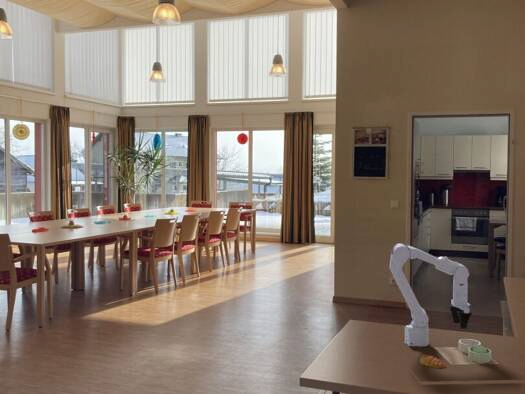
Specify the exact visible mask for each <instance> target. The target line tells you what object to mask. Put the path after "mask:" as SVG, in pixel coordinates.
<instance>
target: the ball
mask: <svg viewBox="0 0 525 394" xmlns="http://www.w3.org/2000/svg"><path fill="white" fill-rule="evenodd" d="M485 348H486V347H485V346H483V345H482V344H481V345H477V346H475V347H474V348H473V352H475V353H487V351H486V349H485Z"/></svg>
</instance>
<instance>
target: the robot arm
mask: <svg viewBox="0 0 525 394" xmlns="http://www.w3.org/2000/svg"><path fill="white" fill-rule="evenodd" d="M409 259H410V260H414V259H418V260H421V261H424V262H426V263H428V264H431V265H434V268H435V269H436V270H437V271H440V272H442V273H444V274H447V275H449V276H453V277H452V279H453V282H452V299H451V302H450V303H451V305H448V308H449V311H450V313H451V316H452V321H453V324H459V326H460V329H462V330H463V329H464V330H465V329H467V327H468V323H469V320H470V318H471V316H472V314H473V312H471V311H470V306H471V304H470V303H469V302H468V294H469V293H468V291H469V290H468V287H469V285H468V284H469V283H468V278H469V277H470V273H469V272H470V271H469V269H468V267H466V266H465V265H463V264H462V263H459V262H458V261H453V260H451V259H449V257H448V256H439V257H436V256H434V255H432V254H431V253H428V252H426V251H424V250H421V249H419V248H416V247H414V246H411V245H406V244H405V243H399V242H398V243H397V244H395V245H394V246H393V248H392V250H391V252H390V259H389V271H390V272H391V274H392V277H393V278H394V281H395V282H396V285H397V287H398V288H399V290H400V292H401V294H402V296H403V299H404V300H405V302H406V304H407V306H408V309H409V311H410V315H411V319H412V321H411V322H410V324H408V325H405V326H404V342H403V343H404V344H406V345H407V346H408V347H427V346H429V320H430V319H429V316H428V315H427V312H426V310H425V309H424V308H423V307H422V306H421V305H420V303H419V301H418V299H417V297H416V295H415V292H414V291H413V289H412V287H411V285H410V283H409V281H408V280H407V277H406V276H405V273H404V272H403V267H404V265H405V263H406V262H407V260H409Z"/></svg>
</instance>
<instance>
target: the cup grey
mask: <svg viewBox="0 0 525 394" xmlns="http://www.w3.org/2000/svg"><path fill="white" fill-rule="evenodd" d="M477 345H481V346H482V343H481V342H480V341H479V340H478V339H477V340H476V339H472V338H461V339H459V340H458V347H459V351H460V352H463V353H467V354H468V348H469V347H475V346H477Z"/></svg>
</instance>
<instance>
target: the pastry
mask: <svg viewBox="0 0 525 394" xmlns="http://www.w3.org/2000/svg"><path fill="white" fill-rule="evenodd" d="M419 364H421V365H422V366H423V365H424V366H426V367H430V368H435V369H445V368H446V366H447V365H446V364H445V363H444V362H443V361H442V360H441V359H439V358H438V357H436V356H433V355H428V354H423V355H422V356H421V358H420V360H419Z"/></svg>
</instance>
